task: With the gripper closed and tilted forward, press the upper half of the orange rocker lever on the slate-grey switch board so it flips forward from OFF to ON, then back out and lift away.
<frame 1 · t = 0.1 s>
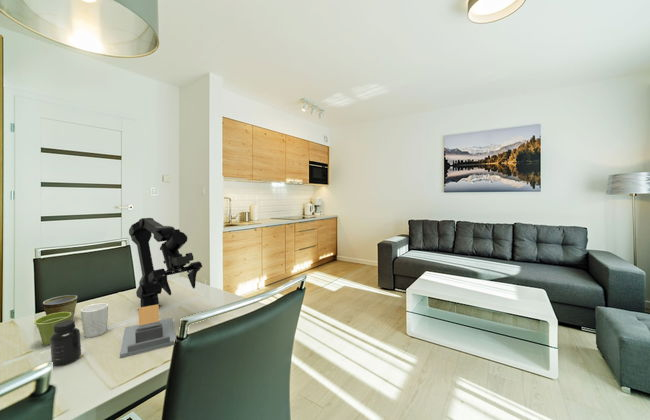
hand: (182, 291, 106), 15 cm above the table, tool tilted 35°, fingers open, 9 cm apart
switch board: (149, 342, 97), on the table
white cup: (95, 333, 103), on the table
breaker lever: (149, 316, 97), point 9 cm above the table, hinge at -25.0°
plant pot: (54, 341, 97), on the table
supplement bottle: (66, 360, 86), on the table
ceramic cup: (59, 323, 110), on the table
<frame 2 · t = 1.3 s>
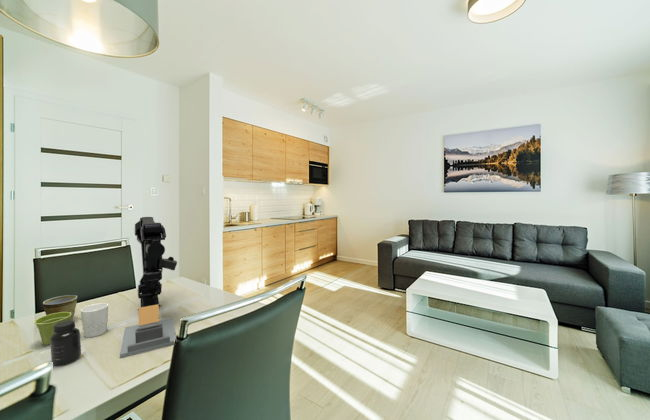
hand: (154, 291, 111), 13 cm above the table, tool pointing down, fingers open, 9 cm apart
nothing on the table moved.
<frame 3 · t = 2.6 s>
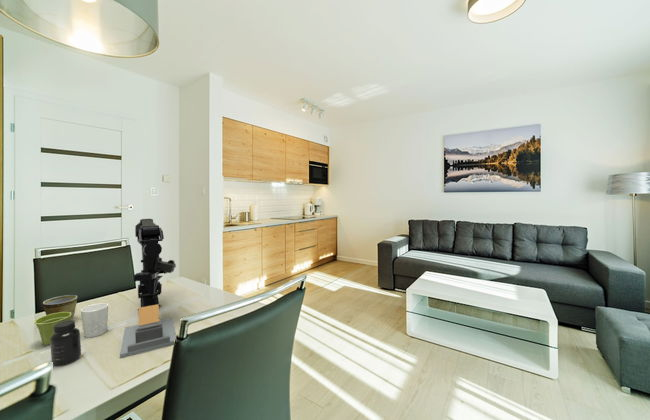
hand: (152, 295, 109), 12 cm above the table, tool pointing down, fingers closed
nothing on the table moved.
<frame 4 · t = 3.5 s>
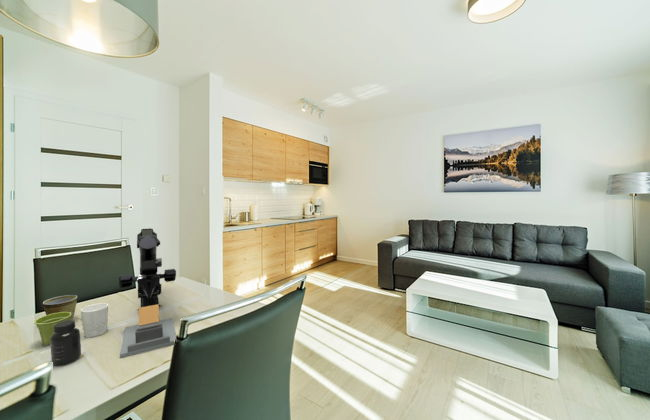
hand: (149, 297, 103), 13 cm above the table, tool tilted 45°, fingers closed
nothing on the table moved.
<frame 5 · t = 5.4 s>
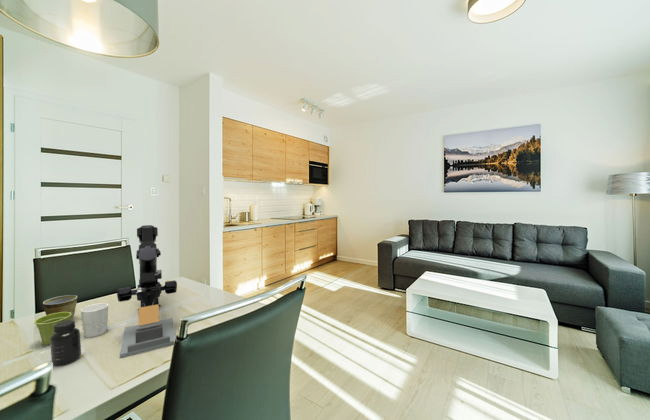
hand: (148, 311, 98), 10 cm above the table, tool tilted 45°, fingers closed, pressing on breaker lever
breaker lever: (149, 316, 97), point 9 cm above the table, hinge at -23.6°, touching gripper
everything else where it was.
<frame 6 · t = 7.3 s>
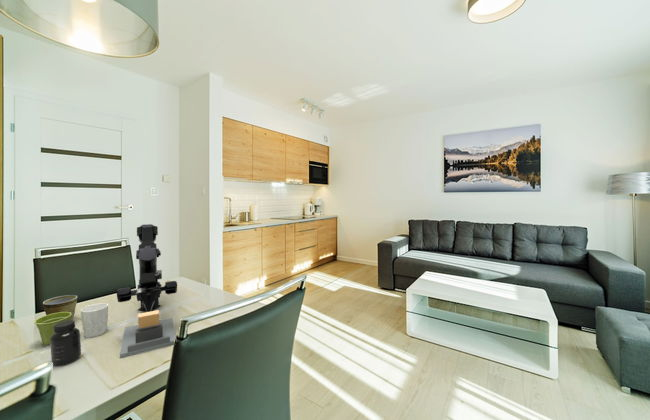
hand: (148, 312, 97), 10 cm above the table, tool tilted 45°, fingers closed
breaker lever: (148, 320, 95), point 9 cm above the table, hinge at 30.9°
everything else where it was.
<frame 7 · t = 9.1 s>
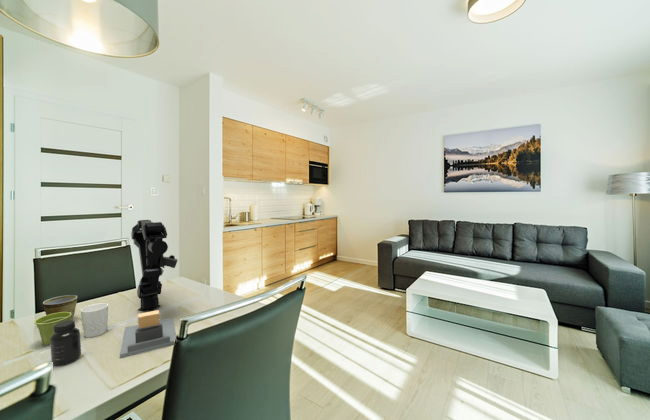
hand: (155, 288, 114), 13 cm above the table, tool pointing down, fingers closed
nothing on the table moved.
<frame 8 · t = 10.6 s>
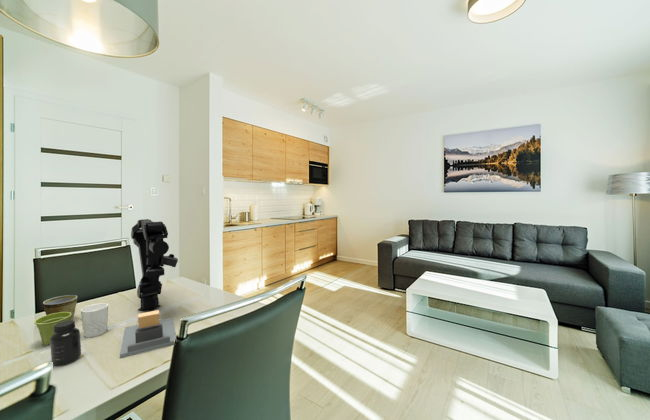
hand: (155, 287, 115), 13 cm above the table, tool pointing down, fingers closed
nothing on the table moved.
at the end: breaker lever at +31° (first picture: -25°) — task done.
